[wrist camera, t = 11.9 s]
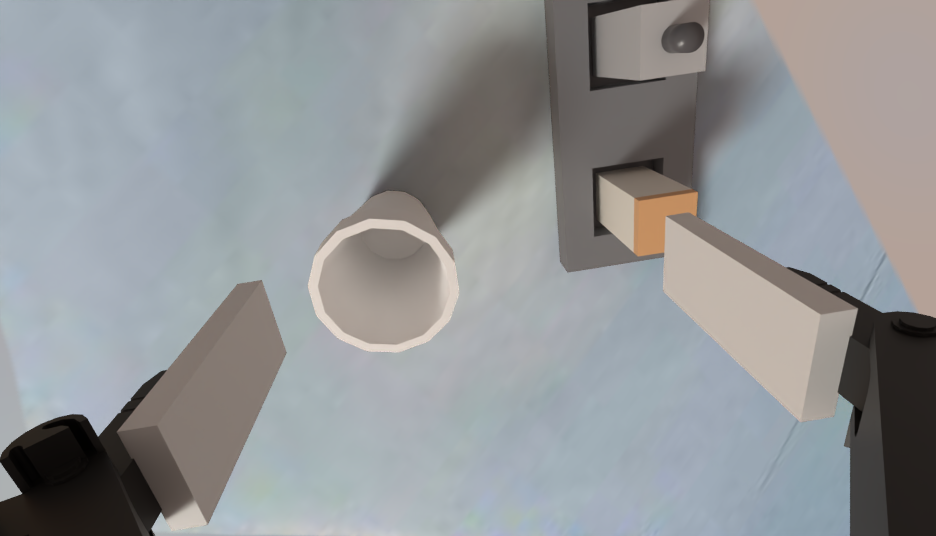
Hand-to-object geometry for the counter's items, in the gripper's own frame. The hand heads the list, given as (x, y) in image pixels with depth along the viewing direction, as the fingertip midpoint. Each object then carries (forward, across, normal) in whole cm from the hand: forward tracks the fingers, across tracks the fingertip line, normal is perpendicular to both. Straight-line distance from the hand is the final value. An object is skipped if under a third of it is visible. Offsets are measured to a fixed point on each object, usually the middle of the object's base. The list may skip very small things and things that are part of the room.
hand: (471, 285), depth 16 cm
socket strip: (+27, +15, 0) cm, 31 cm away
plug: (+26, +15, -6) cm, 31 cm away
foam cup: (+27, -5, -6) cm, 28 cm away
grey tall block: (+26, +15, +6) cm, 31 cm away
